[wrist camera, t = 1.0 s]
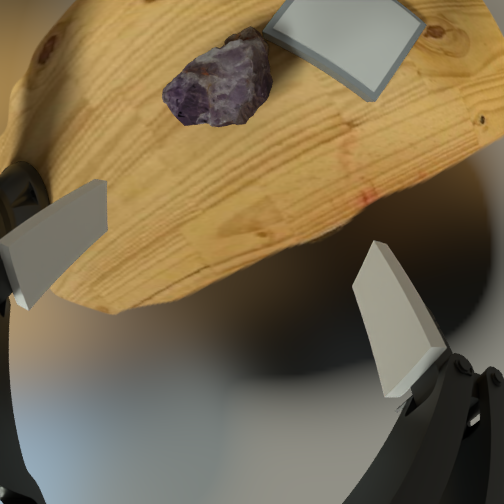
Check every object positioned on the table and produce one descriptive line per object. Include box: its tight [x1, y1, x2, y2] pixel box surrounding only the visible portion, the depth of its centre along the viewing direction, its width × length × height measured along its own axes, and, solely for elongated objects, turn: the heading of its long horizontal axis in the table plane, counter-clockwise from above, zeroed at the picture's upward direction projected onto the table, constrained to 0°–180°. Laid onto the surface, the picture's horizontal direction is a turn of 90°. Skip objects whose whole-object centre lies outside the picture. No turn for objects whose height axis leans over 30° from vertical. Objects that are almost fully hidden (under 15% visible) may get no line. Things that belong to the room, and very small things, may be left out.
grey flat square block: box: [262, 0, 426, 102], centre depth 20 cm, size 14×14×3 cm
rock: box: [162, 26, 273, 127], centre depth 23 cm, size 12×9×10 cm
